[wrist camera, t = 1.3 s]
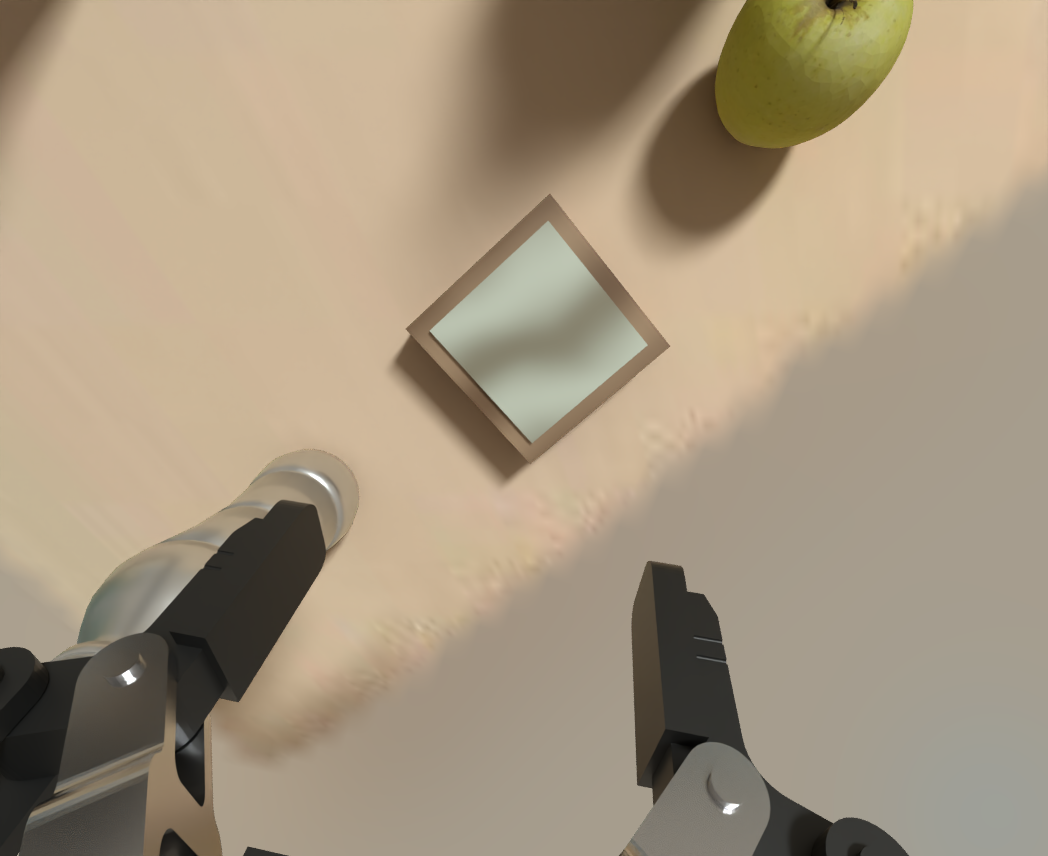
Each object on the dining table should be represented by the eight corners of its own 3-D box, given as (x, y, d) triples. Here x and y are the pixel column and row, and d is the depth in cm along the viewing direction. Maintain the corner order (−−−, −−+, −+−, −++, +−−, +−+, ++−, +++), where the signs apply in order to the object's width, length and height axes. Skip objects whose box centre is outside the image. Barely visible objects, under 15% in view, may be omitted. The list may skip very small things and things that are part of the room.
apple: (835, 176, 29) (921, 97, 19) (696, 162, 30) (711, 84, 21) (881, 20, 27) (1001, -152, 17) (730, 16, 29) (763, -142, 19)
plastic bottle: (377, 455, 33) (189, 668, 14) (356, 542, 35) (158, 845, 15) (282, 429, 32) (-56, 612, 13) (264, 518, 34) (-63, 803, 15)
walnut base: (415, 326, 31) (404, 329, 28) (545, 204, 29) (550, 192, 26) (528, 450, 33) (530, 465, 30) (655, 342, 32) (671, 346, 29)
